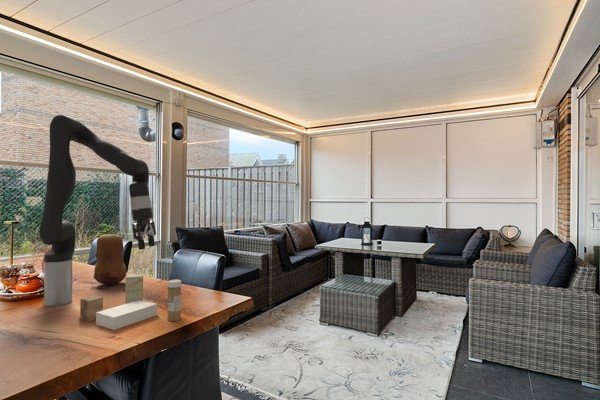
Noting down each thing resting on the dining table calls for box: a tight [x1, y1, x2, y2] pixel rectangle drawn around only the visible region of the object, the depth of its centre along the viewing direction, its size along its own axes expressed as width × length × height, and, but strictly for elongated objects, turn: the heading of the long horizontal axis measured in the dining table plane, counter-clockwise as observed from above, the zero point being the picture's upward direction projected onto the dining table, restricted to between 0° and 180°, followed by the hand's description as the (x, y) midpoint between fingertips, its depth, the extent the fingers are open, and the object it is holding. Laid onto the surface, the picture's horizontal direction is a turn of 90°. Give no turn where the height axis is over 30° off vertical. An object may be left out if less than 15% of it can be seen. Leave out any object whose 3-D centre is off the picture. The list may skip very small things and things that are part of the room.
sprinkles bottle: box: [166, 279, 182, 322], centre depth 116 cm, size 5×5×14 cm
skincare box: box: [124, 273, 144, 304], centre depth 130 cm, size 6×4×12 cm
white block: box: [95, 300, 158, 331], centre depth 116 cm, size 10×16×4 cm, turn 151°
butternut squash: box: [93, 233, 127, 286], centre depth 164 cm, size 14×13×25 cm
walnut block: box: [79, 295, 104, 322], centre depth 117 cm, size 5×5×7 cm
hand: (147, 247), depth 134 cm, fingers open, 8 cm apart
